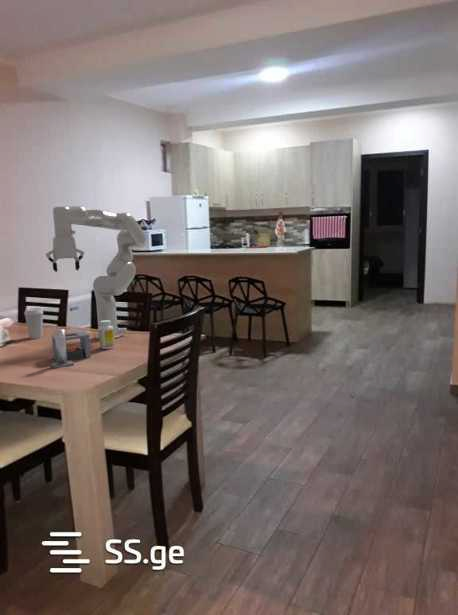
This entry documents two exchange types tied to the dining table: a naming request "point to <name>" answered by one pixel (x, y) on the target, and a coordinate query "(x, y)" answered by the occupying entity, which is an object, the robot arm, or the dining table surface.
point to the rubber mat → (56, 365)
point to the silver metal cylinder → (61, 346)
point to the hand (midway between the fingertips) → (66, 270)
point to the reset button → (71, 349)
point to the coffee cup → (34, 322)
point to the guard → (80, 352)
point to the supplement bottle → (106, 335)
